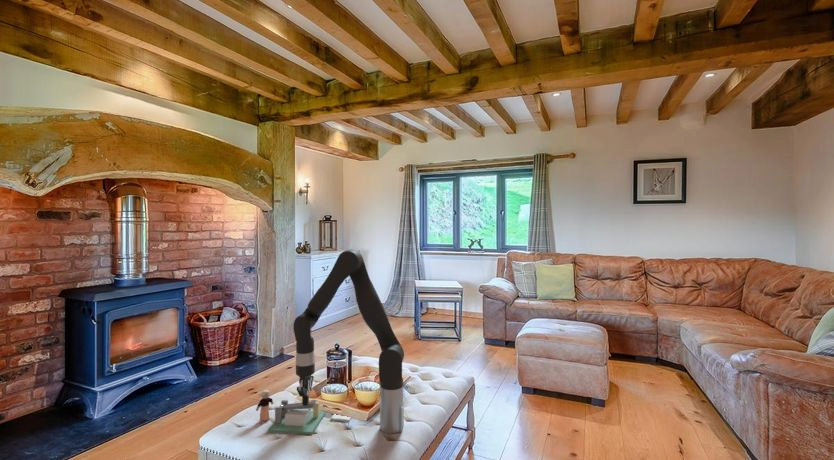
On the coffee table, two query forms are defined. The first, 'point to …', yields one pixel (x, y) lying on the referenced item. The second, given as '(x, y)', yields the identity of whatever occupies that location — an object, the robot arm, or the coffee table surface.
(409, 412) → the coffee table surface
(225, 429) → the coffee table surface
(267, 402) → the grandmother figurine
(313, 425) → the board
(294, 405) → the gray bar
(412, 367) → the coffee table surface
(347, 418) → the external hard drive
